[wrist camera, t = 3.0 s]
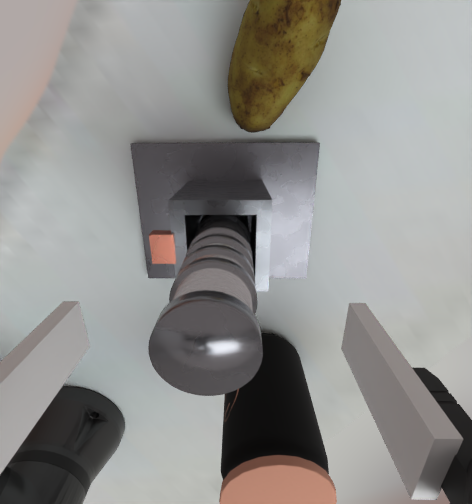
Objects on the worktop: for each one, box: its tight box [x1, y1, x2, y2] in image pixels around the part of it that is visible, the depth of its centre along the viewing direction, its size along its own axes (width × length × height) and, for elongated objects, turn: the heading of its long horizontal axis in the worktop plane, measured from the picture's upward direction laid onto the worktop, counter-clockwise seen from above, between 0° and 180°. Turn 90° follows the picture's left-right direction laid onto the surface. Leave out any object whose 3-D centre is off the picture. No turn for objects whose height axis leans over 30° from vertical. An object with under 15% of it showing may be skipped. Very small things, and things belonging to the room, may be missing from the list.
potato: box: [228, 0, 341, 132], centre depth 25 cm, size 8×13×8 cm, turn 138°
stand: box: [131, 143, 320, 291], centre depth 29 cm, size 20×16×11 cm
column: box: [149, 215, 263, 396], centre depth 23 cm, size 5×5×22 cm
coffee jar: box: [219, 333, 337, 504], centre depth 34 cm, size 11×11×18 cm
